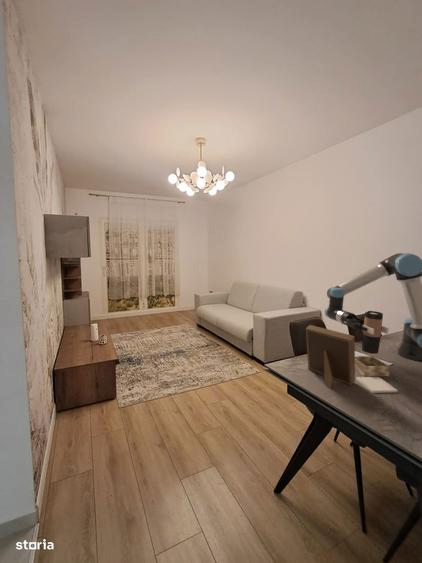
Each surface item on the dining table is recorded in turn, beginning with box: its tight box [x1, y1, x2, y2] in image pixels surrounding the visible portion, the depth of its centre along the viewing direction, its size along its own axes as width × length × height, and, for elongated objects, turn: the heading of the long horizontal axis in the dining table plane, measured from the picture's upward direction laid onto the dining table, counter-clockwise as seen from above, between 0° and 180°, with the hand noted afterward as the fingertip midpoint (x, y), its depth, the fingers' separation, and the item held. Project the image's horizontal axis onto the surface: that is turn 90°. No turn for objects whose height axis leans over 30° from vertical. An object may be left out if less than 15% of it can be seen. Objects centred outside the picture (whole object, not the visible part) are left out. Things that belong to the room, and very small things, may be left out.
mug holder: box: [355, 355, 391, 377], centre depth 137 cm, size 13×13×5 cm
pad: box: [355, 376, 398, 394], centre depth 122 cm, size 12×12×1 cm
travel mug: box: [361, 310, 384, 355], centre depth 129 cm, size 8×8×20 cm
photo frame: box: [305, 324, 356, 389], centre depth 126 cm, size 15×22×25 cm
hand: (380, 331), depth 124 cm, fingers closed on travel mug, 7 cm apart
